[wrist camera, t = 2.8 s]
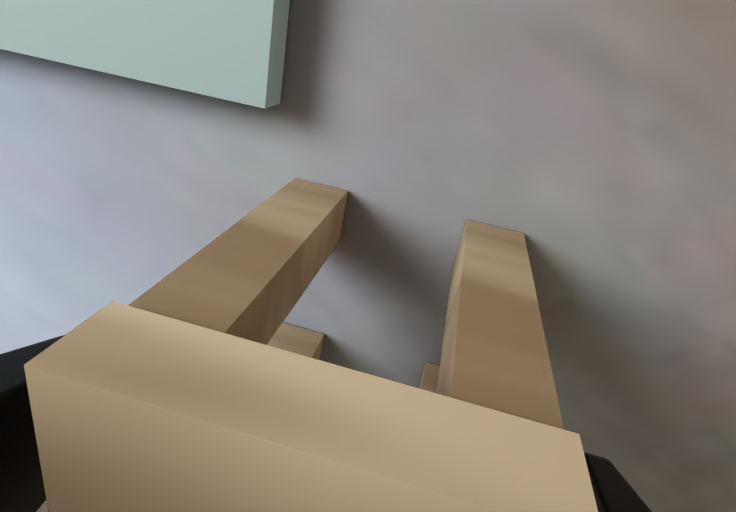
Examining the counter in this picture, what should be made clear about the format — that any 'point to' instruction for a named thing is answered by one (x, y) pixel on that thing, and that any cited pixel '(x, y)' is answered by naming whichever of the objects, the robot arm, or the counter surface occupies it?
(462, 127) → the counter surface
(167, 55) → the board
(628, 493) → the robot arm
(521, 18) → the counter surface
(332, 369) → the stool
